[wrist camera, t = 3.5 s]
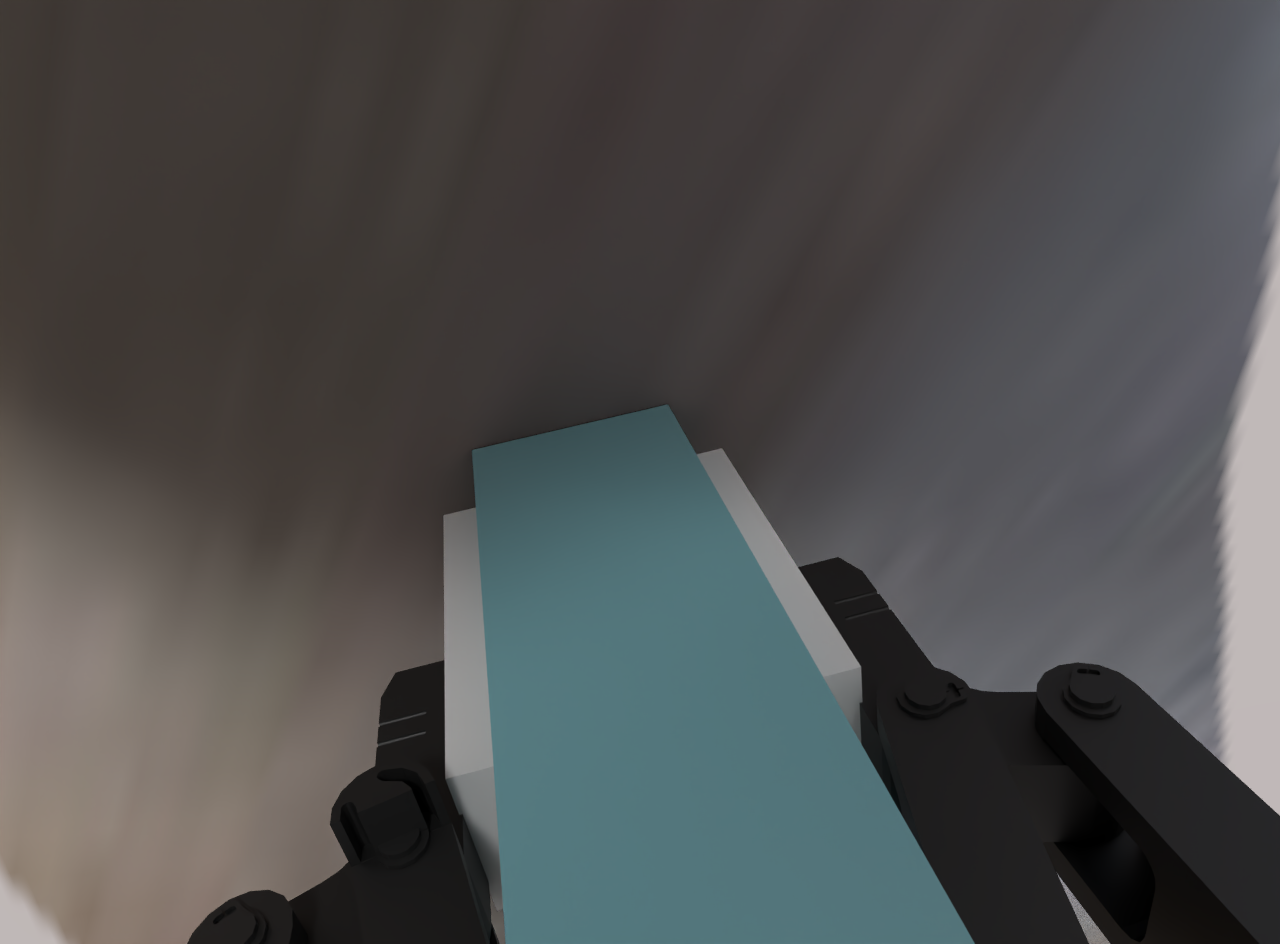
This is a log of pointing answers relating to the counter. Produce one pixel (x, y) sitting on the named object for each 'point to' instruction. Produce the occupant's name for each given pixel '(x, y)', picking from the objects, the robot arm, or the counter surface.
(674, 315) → the counter surface
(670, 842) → the teal cube mallet
